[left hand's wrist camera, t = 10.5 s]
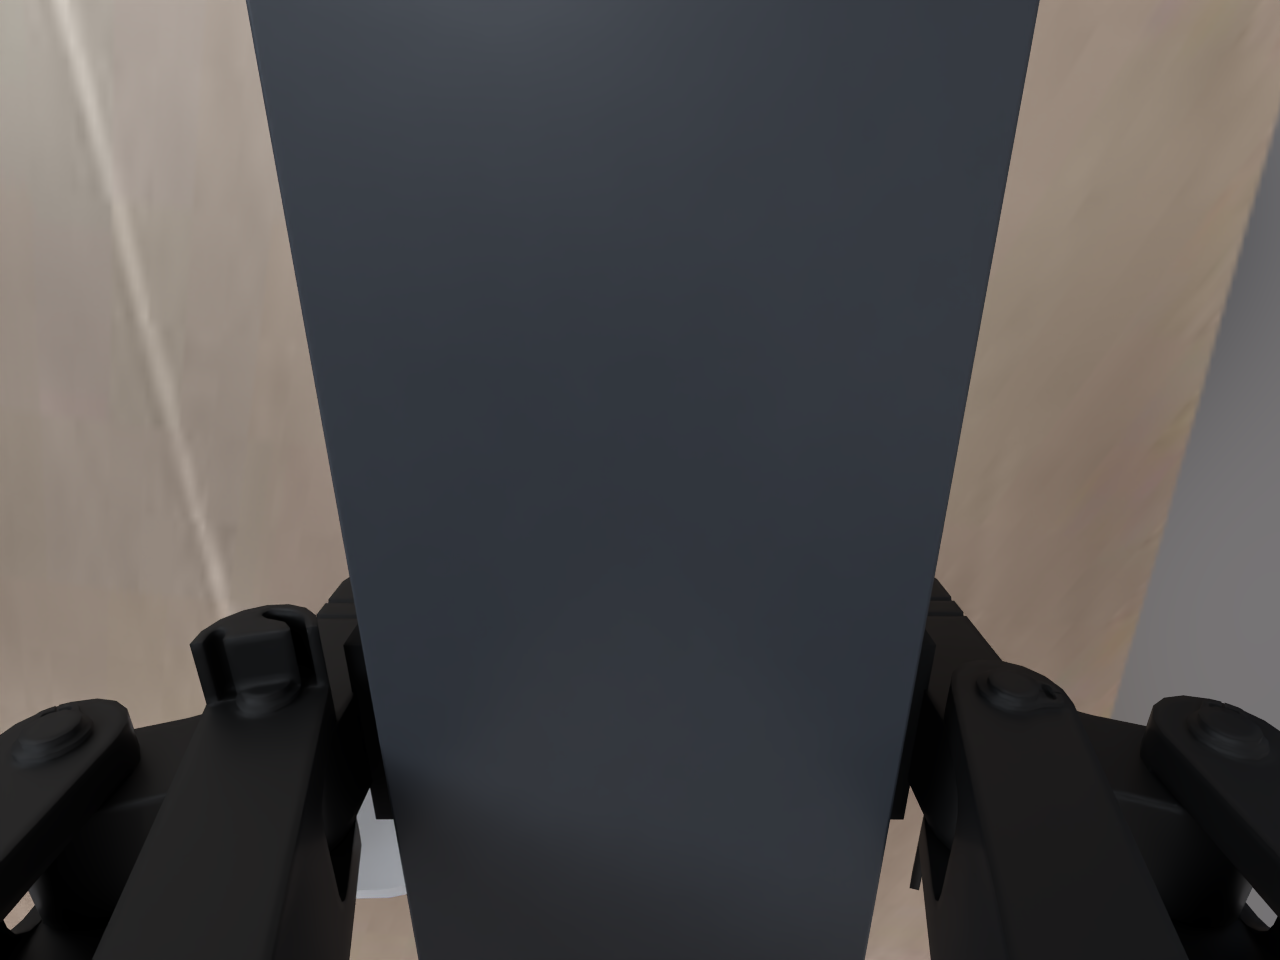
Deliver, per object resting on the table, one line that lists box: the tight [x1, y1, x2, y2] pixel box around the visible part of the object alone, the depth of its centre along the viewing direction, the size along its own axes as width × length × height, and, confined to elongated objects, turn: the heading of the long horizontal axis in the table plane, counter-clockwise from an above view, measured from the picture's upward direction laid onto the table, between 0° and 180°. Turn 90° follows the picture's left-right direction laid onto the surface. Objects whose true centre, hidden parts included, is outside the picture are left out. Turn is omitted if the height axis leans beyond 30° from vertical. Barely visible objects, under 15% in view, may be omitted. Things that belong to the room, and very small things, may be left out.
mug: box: [356, 788, 407, 898], centre depth 29 cm, size 11×9×10 cm
